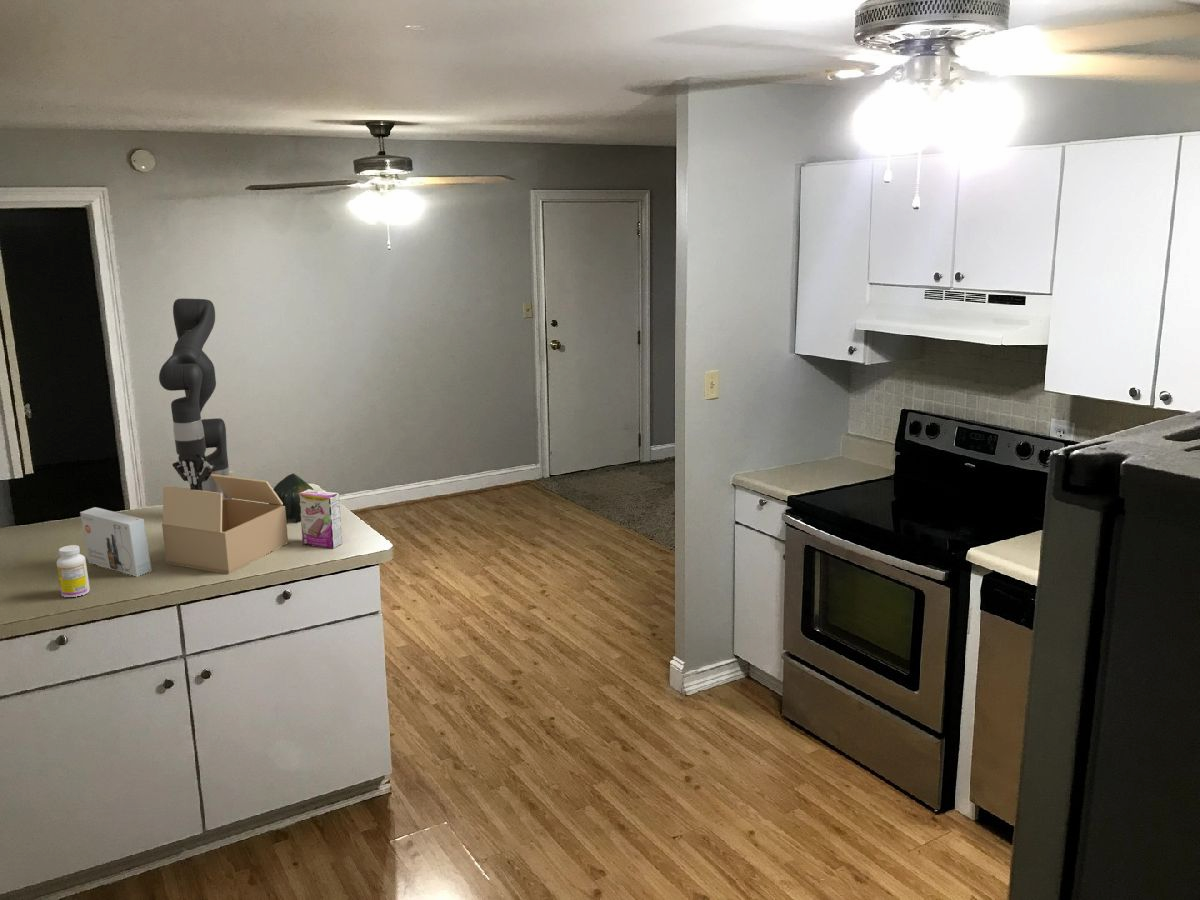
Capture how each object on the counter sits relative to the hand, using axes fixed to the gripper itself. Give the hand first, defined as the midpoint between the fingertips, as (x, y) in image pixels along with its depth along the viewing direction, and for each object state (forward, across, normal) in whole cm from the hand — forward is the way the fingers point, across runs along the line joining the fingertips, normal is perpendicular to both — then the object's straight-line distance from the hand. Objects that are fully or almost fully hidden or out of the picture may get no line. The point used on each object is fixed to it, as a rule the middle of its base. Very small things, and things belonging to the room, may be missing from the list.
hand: (197, 495), depth 262 cm
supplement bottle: (+20, -18, -28) cm, 39 cm away
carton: (+21, 0, +9) cm, 23 cm away
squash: (+23, -3, +43) cm, 49 cm away
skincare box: (+21, -21, -10) cm, 32 cm away
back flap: (+5, 0, +20) cm, 20 cm away
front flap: (+3, 0, -2) cm, 4 cm away
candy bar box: (+22, +21, +25) cm, 39 cm away
